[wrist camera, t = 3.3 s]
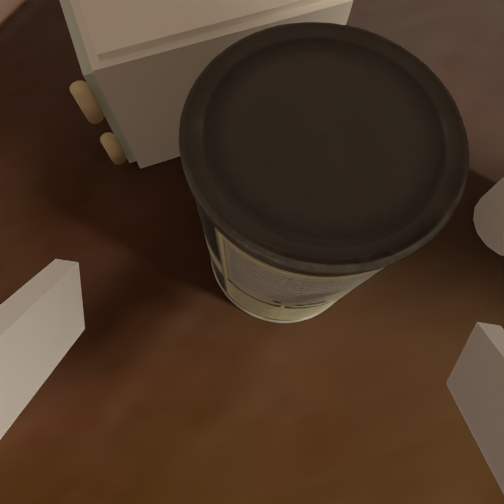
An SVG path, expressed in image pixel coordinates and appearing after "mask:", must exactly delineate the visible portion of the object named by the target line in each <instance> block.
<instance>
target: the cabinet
mask: <svg viewBox="0 0 504 504" xmlns="http://www.w3.org/2000/svg"><path fill="white" fill-rule="evenodd" d="M60 4H61V7H62V10H63V13H64V16H65V20H66V23H67V26H68V29H69V32H70V36H71V39H72V42H73V45H74V48H75V51H76V55H77V58H78V61H79V64H80V67H81V71H82V74H83V76H84V78H85V80H86V82H87V83H86V82H85V81H81V80H79V81H75V82H73V83H72V84H71V86H70V92H71V93H72V95H73V97H74V98H75V100H76V102H77V103H78V105H79V107H80V108H81V110H82V112H83V113H84V115H85V117H86V118H87V120H88V121H89V122H90V123H92V124H98V123H100V122H101V121H102V120H103V118H104V116H105V118H106V120H107V122H108V124H109V126H110V128H111V129H112V131H113V133H114V134H113V133H110V132H107V133H104V134H103V135H102V136H101V137H100V141H101V143H102V145H103V147H104V148H105V150H106V151H107V153H108V155H109V156H110V158H111V160H112V161H113V163H114V164H116V165H121V164H123V163H124V162H125V161H126V158H127V160H128V162H129V163H132V162H135V161H137V163H138V165H139V167H140V169H141V168H145V167H148V166H151V165H154V164H157V163H160V162H164V161H167V160H170V159H173V158H176V157H180V150H179V126H180V117H181V114H182V110H183V107H184V104H185V101H186V99H187V96H188V94H189V91H190V89H191V87H192V86H193V84H194V82H195V81H196V79H197V78H198V76H199V75H200V74H201V72H202V71H203V70H204V69H205V67H206V66H207V65H208V64H209V63H210V62H211V61H212V60H213V59H214V58H215V57H216V56H217V55H219V54H220V53H222V52H223V51H224V50H225V49H226V48H227V47H229V46H231V45H232V44H234V43H235V42H237V41H239V40H241V39H242V38H244V37H246V36H249V35H251V34H253V33H255V32H258V31H261V30H264V29H266V28H270V27H274V26H278V25H283V24H289V23H302V22H322V23H334V24H340V25H346V23H347V20H348V16H349V13H350V10H351V7H352V4H353V0H60Z"/></svg>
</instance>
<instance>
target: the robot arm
mask: <svg viewBox="0 0 504 504" xmlns="http://www.w3.org/2000/svg"><path fill="white" fill-rule="evenodd" d="M84 329H85V323H84V313H83V303H82V292H81V282H80V271H79V262H73V261H67V260H60V259H55V260H54V261H52V262H51V263H50V264H49V265H48V266H46V267H45V268H44V269H43V270H42V271H40V272H39V273H38V274H37V275H36V276H34V277H33V278H32V279H31V280H30V281H28V282H27V283H26V284H25V285H24V286H22V287H21V288H20V289H19V290H18V291H16V292H15V293H14V294H13V295H12V296H10V297H9V298H8V299H7V300H6V301H4V302H3V303H2V304H1V305H0V439H1V438H2V437H3V435H4V434H5V433H6V431H7V430H8V429H9V428H10V426H11V425H12V424H13V422H14V421H15V420H16V418H17V417H18V416H19V414H20V413H21V412H22V411H23V409H24V408H25V407H26V405H27V404H28V403H29V401H30V400H31V399H32V397H33V396H34V395H35V394H36V392H37V391H38V390H39V388H40V387H41V386H42V384H43V383H44V382H45V380H46V379H47V378H48V377H49V375H50V374H51V373H52V371H53V370H54V369H55V367H56V366H57V365H58V363H59V362H60V361H61V360H62V358H63V357H64V356H65V354H66V353H67V352H68V350H69V349H70V348H71V346H72V345H73V344H74V343H75V341H76V340H77V339H78V337H79V336H80V335H81V333H82V332H83V331H84ZM446 385H447V387H448V388H449V390H450V392H451V394H452V396H453V398H454V400H455V402H456V404H457V406H458V408H459V410H460V412H461V414H462V415H463V417H464V419H465V421H466V423H467V425H468V427H469V429H470V431H471V433H472V435H473V437H474V439H475V440H476V442H477V444H478V446H479V448H480V450H481V452H482V454H483V456H484V458H485V460H486V462H487V464H488V465H489V467H490V469H491V471H492V473H493V475H494V477H495V479H496V481H497V483H498V485H499V487H500V489H501V490H502V492H503V494H504V329H503V328H502V327H501V326H500V325H494V324H487V323H480V322H477V323H476V325H475V327H474V329H473V331H472V333H471V335H470V337H469V339H468V341H467V343H466V345H465V347H464V349H463V351H462V353H461V355H460V356H459V358H458V360H457V362H456V364H455V366H454V368H453V370H452V372H451V374H450V376H449V378H448V380H447V382H446Z"/></svg>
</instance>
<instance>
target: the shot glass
mask: <svg viewBox="0 0 504 504" xmlns="http://www.w3.org/2000/svg"><path fill="white" fill-rule="evenodd" d="M473 221H474V225H475V228H476V231H477V234H478V235H479V237H480V238H481V239H482V241H483V242H484V243H485V245H486V246H487V247H489V248H490V249H492V250H493V251H495V252H496V253H497V254H499V255H501V256H504V177H503V178H502V179H501V180H500V181H498V182H497V183H496V184H495V185H494V186H493V187H492V188H491V189H490V190H489V191H488V192H487V193H485V194H484V195H483V196H482V197H481V199H480V200H479V201H478V203H477V204H476V206H475V208H474V216H473Z"/></svg>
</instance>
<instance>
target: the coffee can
mask: <svg viewBox="0 0 504 504" xmlns="http://www.w3.org/2000/svg"><path fill="white" fill-rule="evenodd" d="M179 150H180V156H181V162H182V167H183V170H184V174H185V177H186V180H187V183H188V185H189V188H190V190H191V192H192V195H193V197H194V199H195V201H196V205H197V209H198V213H199V216H200V219H201V223H202V227H203V230H204V234H205V238H206V242H207V246H208V250H209V254H210V258H211V265H212V268H213V272H214V275H215V278H216V280H217V282H218V284H219V286H220V287H221V289H222V291H223V292H224V293H225V295H226V296H227V297H228V299H229V300H230V301H231V302H232V303H234V304H235V305H236V306H237V307H238V308H240V309H241V310H243V311H244V312H246V313H248V314H250V315H252V316H254V317H256V318H259V319H262V320H265V321H270V322H275V323H292V322H299V321H303V320H306V319H310V318H312V317H314V316H316V315H318V314H320V313H322V312H323V311H325V310H326V309H328V308H329V307H330V306H331V305H333V304H334V303H335V302H336V301H337V300H338V299H340V298H341V297H343V296H344V295H345V294H347V293H348V292H350V291H351V290H353V289H354V288H355V287H357V286H358V285H360V284H361V283H363V282H364V281H366V280H367V279H368V278H370V277H371V276H373V275H374V274H376V273H377V272H379V271H380V270H381V269H383V268H384V267H386V266H388V265H391V264H393V263H395V262H397V261H399V260H401V259H403V258H405V257H406V256H408V255H410V254H411V253H413V252H415V251H416V250H418V249H420V248H421V247H422V246H424V245H425V244H426V243H428V242H429V241H430V240H431V239H432V238H434V237H435V236H436V235H437V234H438V232H439V231H440V230H441V229H442V228H443V227H444V226H445V225H446V223H447V222H448V221H449V219H450V218H451V216H452V214H453V213H454V211H455V209H456V208H457V206H458V204H459V202H460V199H461V197H462V195H463V191H464V188H465V185H466V181H467V176H468V167H469V150H468V140H467V135H466V131H465V127H464V124H463V121H462V118H461V115H460V113H459V110H458V108H457V106H456V103H455V101H454V100H453V98H452V96H451V95H450V93H449V91H448V90H447V89H446V87H445V86H444V85H443V83H442V82H441V81H440V79H439V78H438V77H437V76H436V75H435V74H434V73H433V72H432V71H431V70H430V69H429V68H428V67H427V66H426V65H425V64H424V63H423V62H422V61H420V60H419V59H418V58H417V57H415V56H414V55H412V54H411V53H410V52H408V51H407V50H405V49H404V48H402V47H401V46H399V45H397V44H395V43H394V42H392V41H390V40H388V39H386V38H384V37H382V36H380V35H378V34H375V33H372V32H369V31H367V30H363V29H360V28H356V27H351V26H348V25H340V24H334V23H322V22H302V23H289V24H283V25H278V26H274V27H270V28H266V29H264V30H261V31H258V32H255V33H253V34H251V35H249V36H246V37H244V38H242V39H241V40H239V41H237V42H235V43H234V44H232V45H231V46H229V47H227V48H226V49H225V50H224V51H223V52H222V53H220V54H219V55H217V56H216V57H215V58H214V59H213V60H212V61H211V62H210V63H209V64H208V65H207V66H206V67H205V69H204V70H203V71H202V72H201V74H200V75H199V76H198V78H197V79H196V81H195V82H194V84H193V86H192V87H191V89H190V91H189V94H188V96H187V99H186V101H185V104H184V107H183V110H182V114H181V117H180V126H179Z"/></svg>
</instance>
